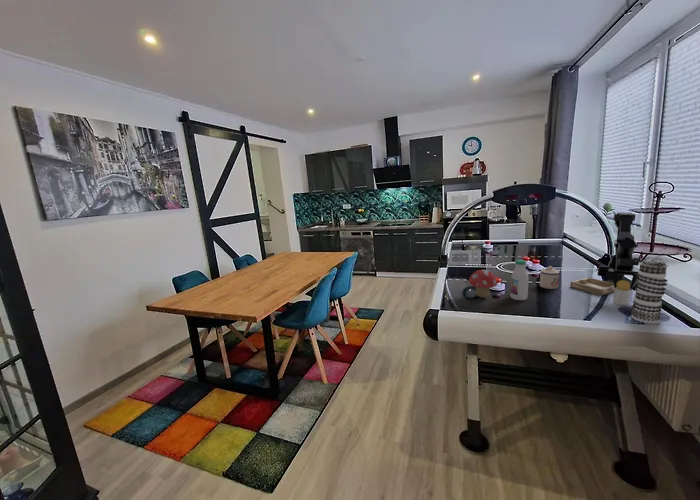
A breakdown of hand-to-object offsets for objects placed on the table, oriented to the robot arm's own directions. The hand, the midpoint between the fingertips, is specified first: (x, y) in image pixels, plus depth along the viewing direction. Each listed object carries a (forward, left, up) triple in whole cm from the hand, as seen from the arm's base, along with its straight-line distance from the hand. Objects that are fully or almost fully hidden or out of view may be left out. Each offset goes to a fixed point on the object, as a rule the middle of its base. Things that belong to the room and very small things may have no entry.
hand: (623, 288), depth 137 cm
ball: (-1, -1, +1) cm, 2 cm away
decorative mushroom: (+48, -36, -8) cm, 60 cm away
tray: (-11, -18, -8) cm, 23 cm away
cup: (-1, -1, -8) cm, 8 cm away
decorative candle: (+9, +13, -8) cm, 18 cm away
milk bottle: (+33, -27, -8) cm, 43 cm away
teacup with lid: (+4, -32, -8) cm, 33 cm away
